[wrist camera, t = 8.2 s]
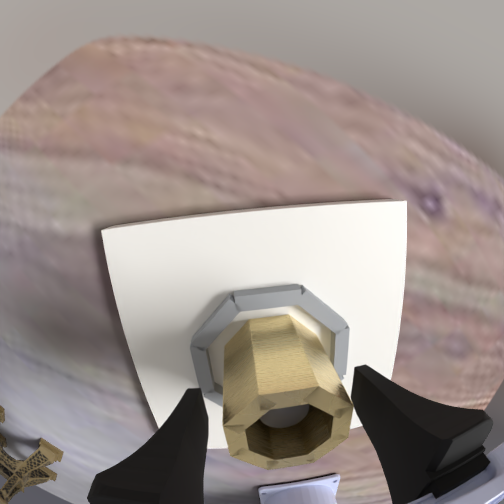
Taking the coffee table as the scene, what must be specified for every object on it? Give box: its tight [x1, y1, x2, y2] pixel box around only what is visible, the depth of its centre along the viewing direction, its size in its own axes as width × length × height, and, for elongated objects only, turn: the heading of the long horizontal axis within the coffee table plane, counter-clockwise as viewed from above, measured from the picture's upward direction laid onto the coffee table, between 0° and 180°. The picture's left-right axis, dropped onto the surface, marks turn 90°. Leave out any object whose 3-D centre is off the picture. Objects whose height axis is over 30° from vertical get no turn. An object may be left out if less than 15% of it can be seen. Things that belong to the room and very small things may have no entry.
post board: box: [101, 199, 407, 449], centre depth 14 cm, size 16×16×6 cm
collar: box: [222, 314, 354, 470], centre depth 13 cm, size 5×5×6 cm
